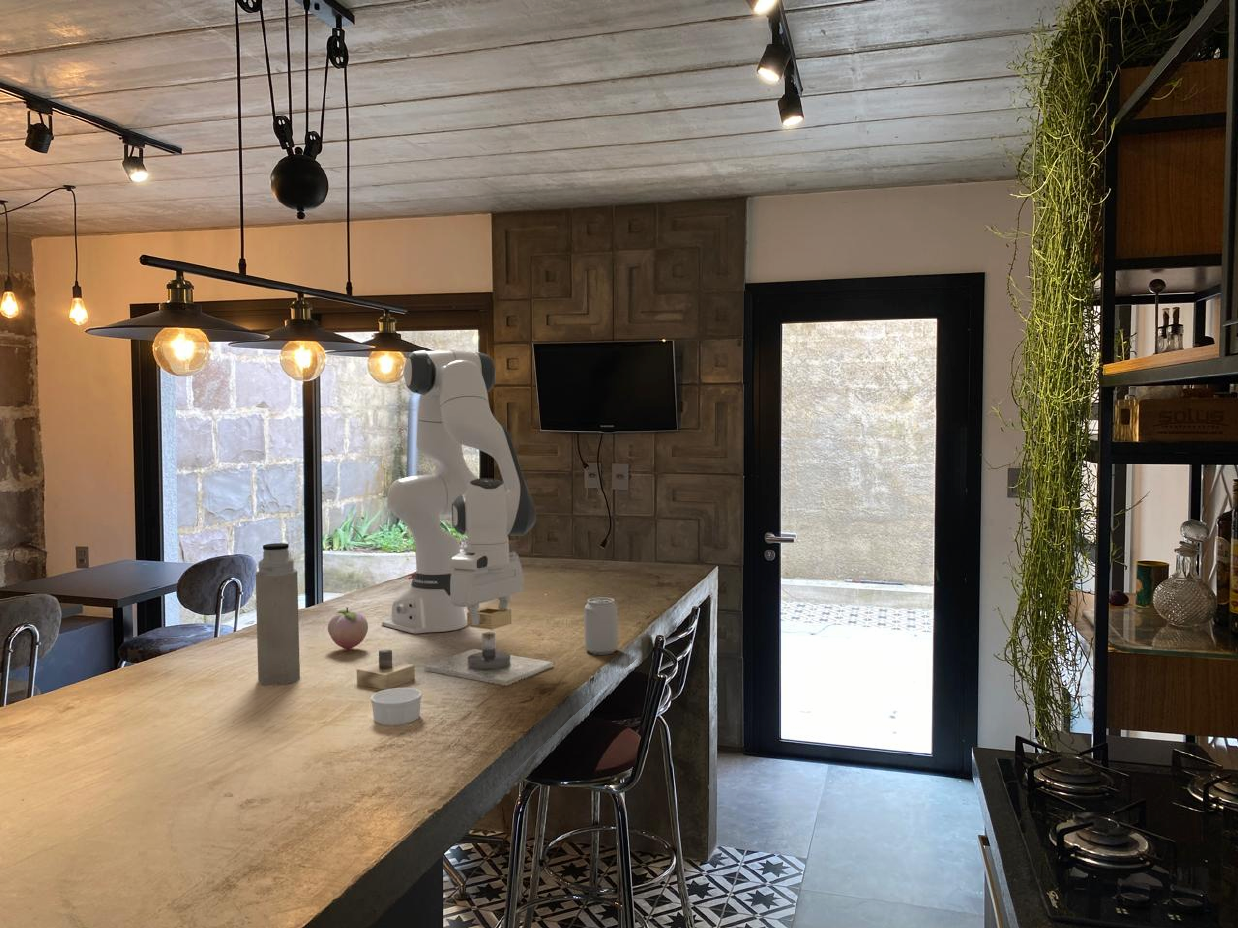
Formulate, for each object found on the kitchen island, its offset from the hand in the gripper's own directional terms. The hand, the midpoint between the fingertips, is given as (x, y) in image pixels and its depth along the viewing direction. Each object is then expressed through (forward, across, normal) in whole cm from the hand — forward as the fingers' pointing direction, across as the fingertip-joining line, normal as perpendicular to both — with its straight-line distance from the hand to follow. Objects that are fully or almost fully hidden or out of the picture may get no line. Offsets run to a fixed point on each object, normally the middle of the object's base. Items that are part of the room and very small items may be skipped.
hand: (489, 620), depth 191 cm
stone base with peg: (+10, 0, 0) cm, 10 cm away
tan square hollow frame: (+1, 0, 0) cm, 1 cm away
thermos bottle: (+10, +28, -32) cm, 44 cm away
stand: (+10, +18, -12) cm, 24 cm away
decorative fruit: (+10, +4, -38) cm, 40 cm away
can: (+11, -24, +13) cm, 29 cm away
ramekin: (+11, +33, +5) cm, 35 cm away
